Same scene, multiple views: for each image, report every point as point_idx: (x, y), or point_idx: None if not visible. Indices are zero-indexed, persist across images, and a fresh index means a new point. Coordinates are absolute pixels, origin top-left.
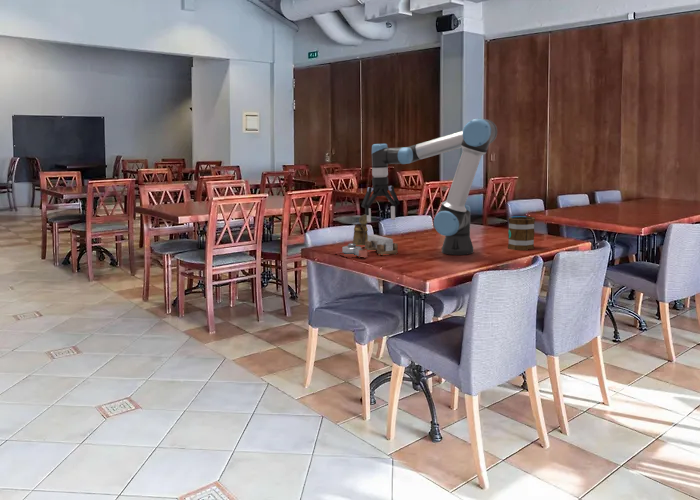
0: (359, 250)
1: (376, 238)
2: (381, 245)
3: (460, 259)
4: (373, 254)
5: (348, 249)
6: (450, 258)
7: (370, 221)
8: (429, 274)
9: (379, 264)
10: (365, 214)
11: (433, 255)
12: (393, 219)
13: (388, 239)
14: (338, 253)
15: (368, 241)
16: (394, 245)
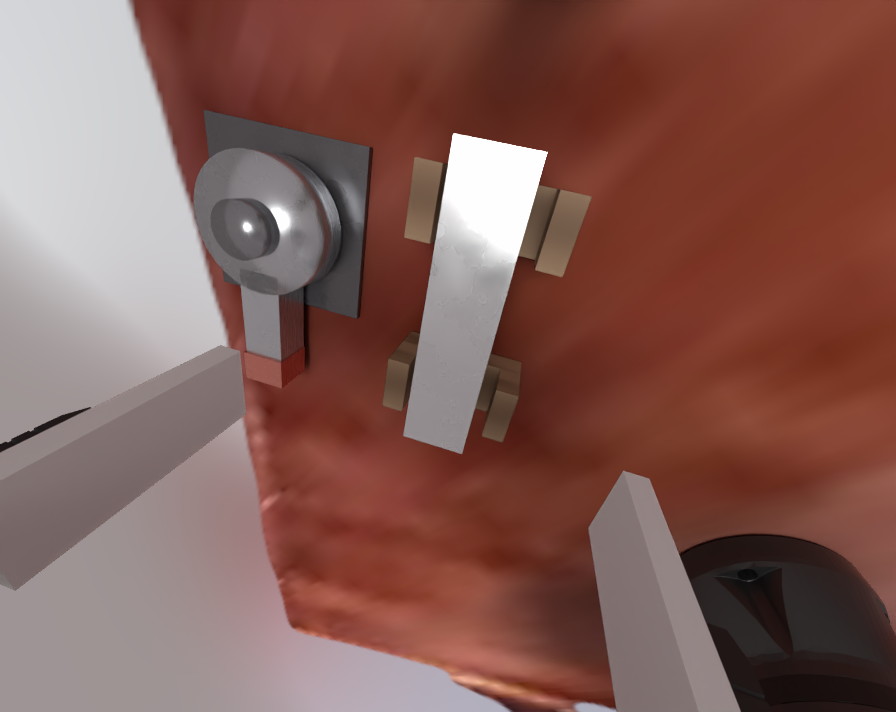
0: (245, 360)
1: (424, 315)
2: (386, 402)
3: (585, 630)
4: (402, 307)
5: (218, 259)
6: (579, 604)
7: (232, 417)
8: (337, 618)
9: (293, 469)
10: (75, 415)
11: None
12: (592, 523)
13: (428, 441)
14: (242, 91)
15: (424, 206)
16: (484, 425)
